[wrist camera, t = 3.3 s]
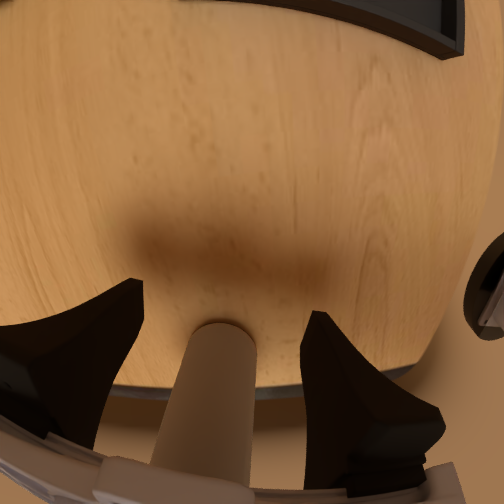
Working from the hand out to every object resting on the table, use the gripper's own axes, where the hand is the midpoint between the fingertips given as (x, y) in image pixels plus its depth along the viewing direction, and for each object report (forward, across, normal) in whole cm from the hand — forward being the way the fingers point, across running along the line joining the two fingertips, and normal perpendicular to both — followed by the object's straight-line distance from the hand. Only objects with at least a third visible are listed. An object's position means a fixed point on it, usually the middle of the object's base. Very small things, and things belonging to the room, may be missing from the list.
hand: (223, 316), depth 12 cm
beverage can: (+6, 0, +7) cm, 9 cm away
